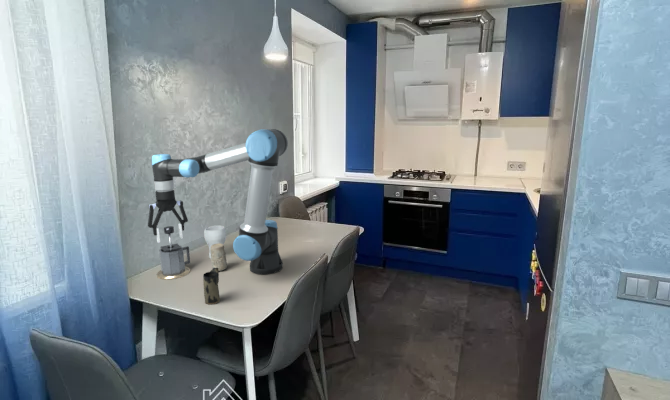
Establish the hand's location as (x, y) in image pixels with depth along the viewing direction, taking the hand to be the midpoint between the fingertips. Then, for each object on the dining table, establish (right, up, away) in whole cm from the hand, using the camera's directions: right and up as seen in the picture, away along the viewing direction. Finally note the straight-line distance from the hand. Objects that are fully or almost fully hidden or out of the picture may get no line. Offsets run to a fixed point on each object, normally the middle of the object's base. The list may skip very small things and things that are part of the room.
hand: (170, 239), depth 163 cm
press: (0, -16, +3) cm, 16 cm away
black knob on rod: (0, -13, +3) cm, 13 cm away
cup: (+13, -11, +24) cm, 29 cm away
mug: (+27, -21, -22) cm, 41 cm away
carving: (+20, -15, +7) cm, 26 cm away
